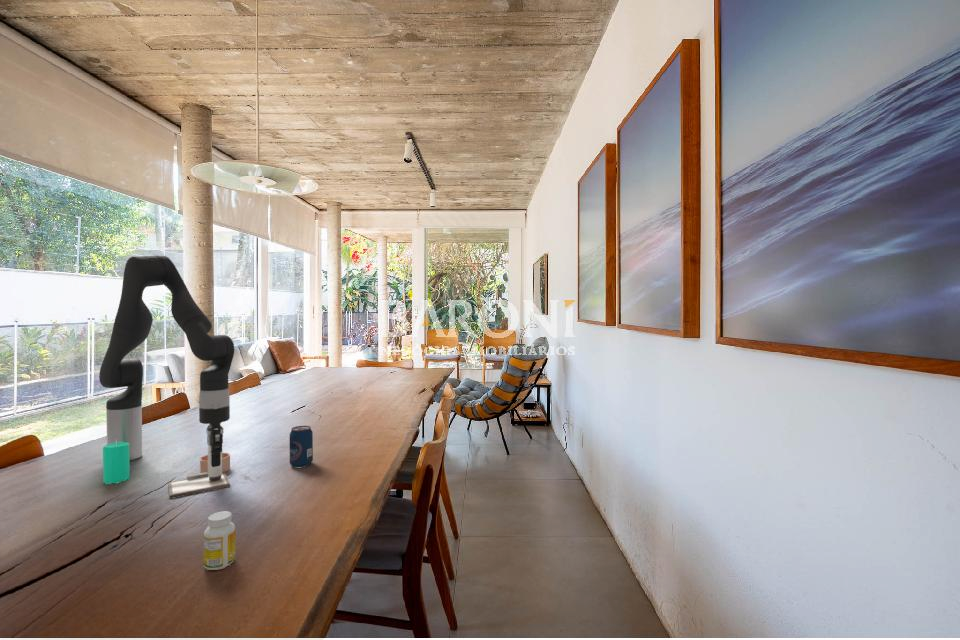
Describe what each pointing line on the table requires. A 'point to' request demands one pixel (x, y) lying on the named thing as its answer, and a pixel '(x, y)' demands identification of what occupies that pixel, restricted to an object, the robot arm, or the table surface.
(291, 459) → the soda can
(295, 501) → the table surface
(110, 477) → the candle
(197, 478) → the clipboard
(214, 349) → the robot arm
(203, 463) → the pen cup
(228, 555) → the supplement bottle
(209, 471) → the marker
